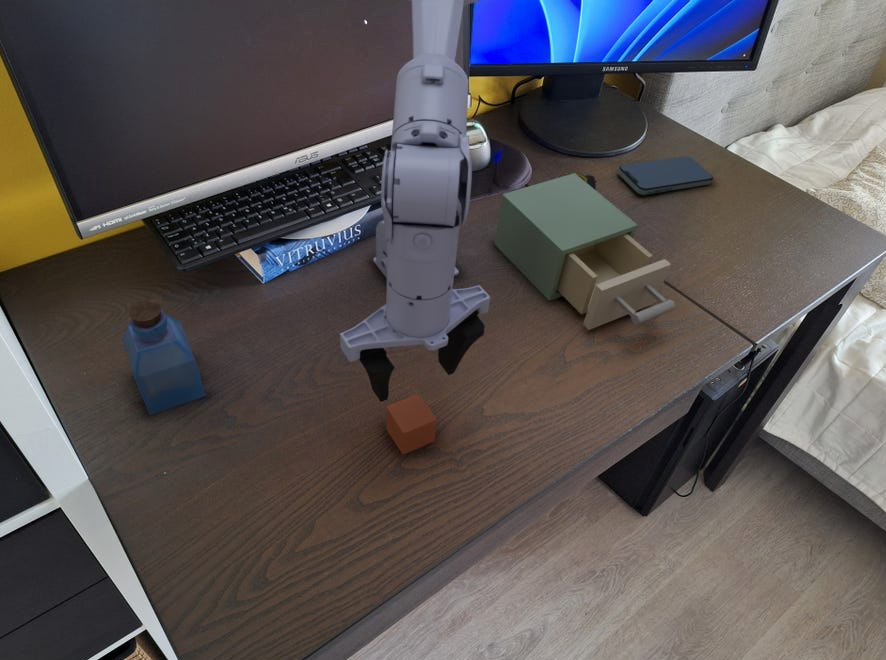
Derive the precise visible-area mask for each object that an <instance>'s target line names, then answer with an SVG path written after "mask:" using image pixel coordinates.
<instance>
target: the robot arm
mask: <svg viewBox="0 0 886 660" xmlns="http://www.w3.org/2000/svg"><path fill="white" fill-rule="evenodd" d="M408 1H409V2H411V31H412V33H411V34H412V59H411V60H409V61H408V62H406V63H405V64H404V65H403V66H402V67H401V68H400V70H398V73H397V76H396V81H395V83H396V84H395V93H394V94H395V96H394V107H393V118H392V119H393V120H392V131H391V143H390V152H389V149H385V152H384V155H383V159H382V168H381V169H382V170H381V183H380V184H381V186H380V205H381V211H382V217H383V219H382V220H381V221H378V222H377V224H376V226H375V256H374V257H373V260H372V261H373V263H374V264H375V265H376V267H377V268H378V269H379V270H380V272H381V274H382V275H383V276H384V277H385V278H386V299H385V300H386V301H385V304H383V305H382V306H381V307H380V308H378V309H377V310H376V311H374V312H373V313H371V314H370V315H368V316H367V317H366V318H365V319H363V320H362V321H360V322H359V323H358V324H356V325H355V326H352V327H351V328H350V329H347V330H344V331H343V332H340V333H339V345H340V351H342V353H343V354H344V357H346V359H347V361H348V362H349V363H352V362H355V361H359V362H360V363H361V365H362V366H363V368H364V369H365V371H366V374H367V377H368V380H369V382H370V386H371V390H372V392H373V393H374V394H375V396H376V398H377V399H378V401H379V403H383V402H385V401H388V398H389V396H390V394H389V393H390V391H389V389H390V388H389V387H390V386H389V385H390V379H391V377H392V373H393V371H394V370H395V369H396V367H395V365H394V364H393V363H392V361H391V360H390V358H389V357H388V356H387V350H386V348H397V347H408V346H421V345H423V346H424V347H425V349H426V350H428V351H436V350H437V351H438V352H437V359H438V364H439V365H440V366H441V367H442V369H443V370H444V371H445V373H446V374H447V375H448V376H450V375H453V374H455V372H456V370H457V368H458V367H459V364H460V363H461V361H462V359H463V357H464V356H465V354H466V353H467V352H468V350H470V348H471V346H473V344H475V342H477V341H478V340H479V339H480V338H481V337H483V336H484V333H485V324H484V322H483V320H481V318H480V317H479V315H484V314H487V313H488V312H489V308H490V302H491V296H490V295H489V294H488V293H487V291H486V290H485V289H484V288H483V287H482V286H481V285H480V284H478V285H475V286H471V287H466V288H464V287H463V288H455V289H454V280H455V277H456V276H459V274H460V272H459V269H458V268H457V267H456V263H457V262H456V261H457V254H458V253H457V252H458V246H459V245H458V243H459V235H460V226H462V227H463V226H465V224H466V221H467V217H468V213H469V209H470V204H471V203H470V202H471V194H472V192H471V191H472V179H473V176H472V175H473V164H472V157H471V150H470V136H469V135H468V134H467V131H468V129H467V128H468V127H467V126H468V104H469V103H468V102H469V79H468V76H467V74H466V72H465V71H464V69H463V68H462V67H461V66H460V65H459V64H458V63H457V62H456V57H457V56H456V55H457V50H458V43H459V38H460V37H459V36H460V30H461V22H462V15H463V10H464V6H467V5H471V4H474V3H477V2H478V3H479V2H482V0H408Z"/></svg>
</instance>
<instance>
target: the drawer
mask: <svg viewBox="0 0 886 660" xmlns="http://www.w3.org/2000/svg"><path fill="white" fill-rule="evenodd" d="M653 257H654V255H653V254H652V253H651V252H649V250H647V249H646V248H645V247H644V246H642V245H641V244H640V243H639V242H638V241H636V240H635V239H634V237H633V238H632V237H630V236H629V235H628V234H627V233H625V234H622V235H619V236H617V237H614V238H611V239H608V240H605V241H602V242H599V243H596V244H593V245H591V246H588V247H585V248H582V249H579V250H576V251H573V252H570V253H568V254H566V256H565V260H564V263H563V267H562V271H561V275H560V278H559V282H558V286H557V290H558V291H559V292H560V293H561V294H562V295H563V296H562V297H563V298H564V299H565V300H566V301H568V303H569V304H571V306H572V307H573V308H575V310H576V311H577V312H578V313H579V314H580V315H584V314H585V318H584V321H583V323H582V324H583V326H584V327H585V328H586V329H587V330H588V331H590V330H592V329H596V328H597V327H600V326H602V325H605V324H607V323H609V322H612V321H614V320H617V319H620V318H622V317H625V316H627V315H629V316H630V318H631V319H630V320H631V323H632V324H633V325H635V326H638V325H641V324H644V323H646V322H648V321H650V320H653V319H656V318H658V317H660V316H662V315H665V314H668V313H669V312H672V311H674V310H675V309H676V302H675V301H674V300H672V299H666V298H665V297H664V296H663V295H662V294H661V293H660V292H661V290H662V288H663V285H664V282H665V280H666V278H667V275H668V274H669V270H670V268H671V266H672V263H670V262H669V261H668V260H667V259H665V258H664V259H661V260H658V261H656V262H653V263H651V262H652V259H653ZM656 302H658V303H657V304H655V303H656ZM654 304H655V305H654ZM651 305H652V306H651ZM649 306H650V307H649ZM646 307H648V308H646ZM644 308H645V309H644ZM639 310H640V311H639Z"/></svg>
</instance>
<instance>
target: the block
mask: <svg viewBox="0 0 886 660" xmlns="http://www.w3.org/2000/svg"><path fill="white" fill-rule="evenodd" d="M385 415H386V416H385V430H386V431H387V433H388V434H389V437H391V439H392V441H393V442H394V443H395V445H396V447H397V449H398V450H399V451H400V453H401V455H403V456H404V455H406V454H408V453H411V452H413V451H415V450H417V449H420V448H422V447H424V446H426V445H430V444H431V443H433V442H435V440H436V432H437V423H438V419H437V417H436V416H435V414H434V413H433V412H432V410H431V409H430V407H429V406H428V404H427V403H426V402H425V400H424V399H423V397H422V396H421V394H420V393H416V394H414V395H411V396H408V397H406V398H403V399H401V400H399V401H396V402H394V403H392V404H388V405H386V407H385Z"/></svg>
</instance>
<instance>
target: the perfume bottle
mask: <svg viewBox="0 0 886 660" xmlns="http://www.w3.org/2000/svg"><path fill="white" fill-rule="evenodd" d="M127 314H128V317H129V324H130V325H129V326H128V327H127V329H126V331H125V333H124V335H123V337H122V339H121V340H122V342H123V345H124V348H125V351H126V355H127V358H128V361H129V364H130V368H131V371H132V375H133V377H134V381H135V382H136V385H137V387H138V389H139V393H140V395H141V397H142V399H143V402H144V404H145V407H146V409H147V411H148V414H149V415H150V416H151V415H154V414H157V413H160V412H163V411H166V410H169V409H171V408H175V407H178V406H181V405H184V404H186V403H190V402H192V401H195V400H199V399H202V398H205V397H207V394H206V391H205V388H204V384H203V381H202V378H201V374H200V370H199V367H198V363H197V361H196V358H195V355H194V352H193V351H192V347H191V345H190V343H189V340H188V338H187V335H186V333H185V331H184V328H183V325H182V322H181V321H179V320H178V319H175V318H173V317H172V316H169V315H166V313H165V311H163V309H162V305H161V304H160V302H158V301H157V300H155V299H149V298H148V299H147V298H145V299H140V300H138V301H136V302H134V303H133V304H131V305H130V306H129V308H128V310H127Z"/></svg>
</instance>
